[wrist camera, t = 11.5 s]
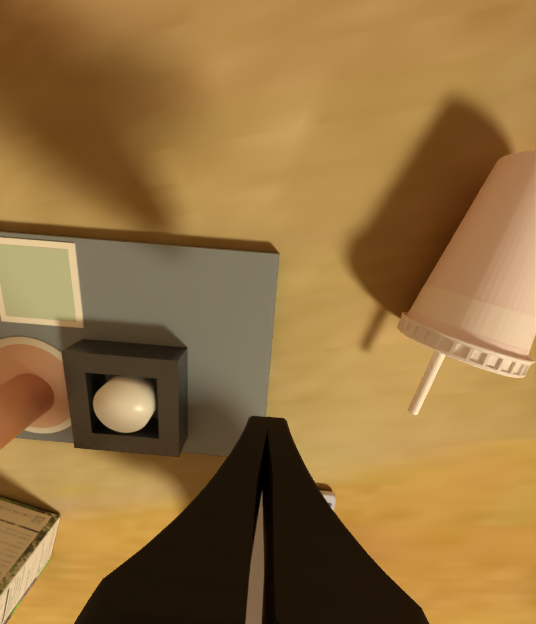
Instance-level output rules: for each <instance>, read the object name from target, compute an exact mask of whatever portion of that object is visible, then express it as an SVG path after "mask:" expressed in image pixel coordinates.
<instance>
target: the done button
mask: <svg viewBox="0 0 536 624" xmlns="http://www.w3.org/2000/svg"><path fill="white" fill-rule="evenodd" d="M93 407H94V411H95V414H96V416H97V417H98V419H99V420H100V421H101V422H102V423H103V424H104V425H105V426H107V427H108V428H110V429H112V430H115V431H118V432H123V433H130V432H135V431H138V430H140V429H141V428H143V427H144V426H145V425H146V424H147V422H148V421H149V419H150V418H151V416H152V415H153V413H154V412H155V410H156V409H157V407H158V398H157V382H156V380H155V379H154V378H144V377H132V376H120V375H114V376H113V377H112V378H111V379H110V380H109V381H108V382H107V383H106V384H104V385H103V386H102V387H101V388H100V389H99V390H98V391H97V393H96V394H95V396H94V400H93Z"/></svg>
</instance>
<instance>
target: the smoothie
mask: <svg viewBox="0 0 536 624" xmlns="http://www.w3.org/2000/svg"><path fill="white" fill-rule="evenodd" d="M397 328H398V330H399V331H400V332H401V333H403V334H404V335H406V336H407V337H409V338H411V339H412V340H414V341H416V342H418V343H420V344H422V345H424V346H426V347H428V348H430V349H433V350H435V352H434V354H433V356H432V358H431V361H430V363H429V365H428V367H427V369H426V371H425V373H424V376H423V378H422V380H421V382H420V384H419V386H418V389H417V391H416V393H415V395H414V397H413V399H412V402H411V404H410V406H409V408H408V411H409V412H410V413H412V414H414V415H417V414H418V412H419V410H420V408H421V406H422V404H423V402H424V400H425V397H426V395H427V393H428V391H429V389H430V387H431V385H432V383H433V381H434V378H435V376H436V374H437V372H438V370H439V368H440V366H441V364H442V362H443V359H444V357H445V355H446V356H449V357H451V358H454V359H456V360H459V361H461V362H464V363H467V364H469V365H472V366H475V367H478V368H481V369H484V370H487V371H490V372H493V373H496V374H500V375H504V376H508V377H514V378H523V377H525V375H526V373H527V371H528V369H529V367H530V365H531V364H532V363H535V361H534V359H533V358H531V357H529V356H528V355H529V352H530V348H531V345H532V343H533V340H534V338H535V335H536V151H524V152H517V153H512V154H509V155H506V156H503V157H501V158H500V159H499V160H498V161H497V162H496V164H495V165H494V167H493V169H492V171H491V172H490V174H489V176H488V177H487V179H486V181H485V182H484V184H483V186H482V188H481V189H480V191H479V193H478V194H477V196H476V198H475V199H474V201H473V203H472V205H471V206H470V208H469V210H468V211H467V213H466V215H465V217H464V218H463V220H462V222H461V223H460V225H459V227H458V228H457V230H456V232H455V234H454V235H453V237H452V239H451V240H450V242H449V244H448V246H447V247H446V249H445V251H444V252H443V254H442V256H441V257H440V259H439V261H438V263H437V264H436V266H435V268H434V269H433V271H432V273H431V274H430V276H429V278H428V280H427V281H426V283H425V284H424V286H423V288H422V290H421V291H420V293H419V295H418V297H417V298H416V300H415V302H414V304H413V305H412V307H411V309H410V310H409V312H402V316H401V319H400V321H399V323H398V326H397Z"/></svg>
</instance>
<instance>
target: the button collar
mask: <svg viewBox="0 0 536 624" xmlns="http://www.w3.org/2000/svg"><path fill="white" fill-rule="evenodd" d="M61 353H62V360H63V367H64V375H65V382H66V389H67V397H68V404H69V411H70V419H71V426H72V433H73V440H74V448H83V449H94V450H106V451H117V452H129V453H140V454H152V455H163V456H174V457H179V456H180V454H181V451H182V449H183V447H184V444H185V442H186V440H187V437H188V347H176V346H164V345H152V344H140V343H128V342H116V341H104V340H92V339H81V340H80V341H78V342H76V343H74V344H73V345H71V346H69V347H68V348H66V349H64V350H62V351H61ZM105 374H108V375H120V376H132V377H144V378H156V379H157V398H158V418H150V419H149V421H148V422H147V424H146V425H145V426H144V427H143V428H141V429H140V430H138V431H135V432H130V433H123V432H118V431H115V430H112V429H110V428H108V427H107V426H105V425H104V424H103V423H102V422H101V421H100V420H99V419H98V417H97V416H96V414H95V411H94V407H93V400H94V396H95V394H96V393H97V391H98V390H99V389H100V388H101V387H102V386H103V385H104V384H106V378H105Z"/></svg>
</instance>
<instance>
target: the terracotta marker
mask: <svg viewBox="0 0 536 624" xmlns="http://www.w3.org/2000/svg"><path fill="white" fill-rule="evenodd" d="M53 404H54V393H53V390H52V388H51V387H50V385H49V384H48V383H47V382H46V381H45V380H43V379H42V378H40V377H38V376H36V375H33V374H20V375H17V376H15V377H14V378H12V379H10V380H8V381H7V382H5V383H3V384H2V385H0V449H1V448H3V447H4V446H5V445H6V444H8V443H9V442H10V441H11V440H13V439H14V438H15V437H16V436H17V435H19V434H20V433H21V432H22V431H24V430H25V429H26V428H27V427H29V426H30V425H31V424H32V423H34V422H35V421H36V420H37V419H38V418H40V417H41V416H42V415H43V414H45V413H46V412H47V411H48V410H50V409H51V407H52V406H53Z"/></svg>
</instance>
